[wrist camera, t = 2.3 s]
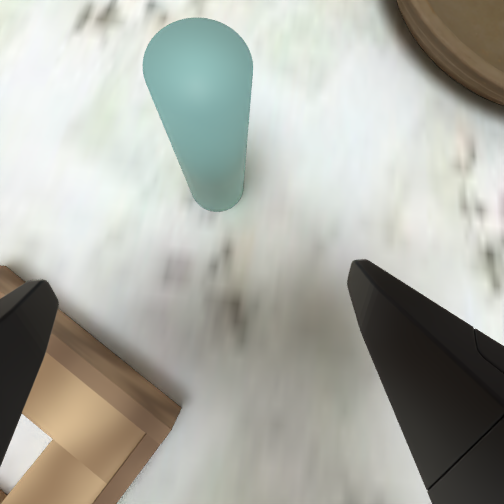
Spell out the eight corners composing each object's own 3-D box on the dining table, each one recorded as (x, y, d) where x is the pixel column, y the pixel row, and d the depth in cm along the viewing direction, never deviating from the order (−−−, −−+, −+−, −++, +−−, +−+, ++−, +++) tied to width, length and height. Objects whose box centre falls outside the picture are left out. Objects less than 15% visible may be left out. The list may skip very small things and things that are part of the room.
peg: (253, 182, 24) (274, 59, 11) (221, 222, 23) (207, 138, 11) (213, 151, 24) (190, -2, 12) (180, 190, 23) (119, 71, 11)
